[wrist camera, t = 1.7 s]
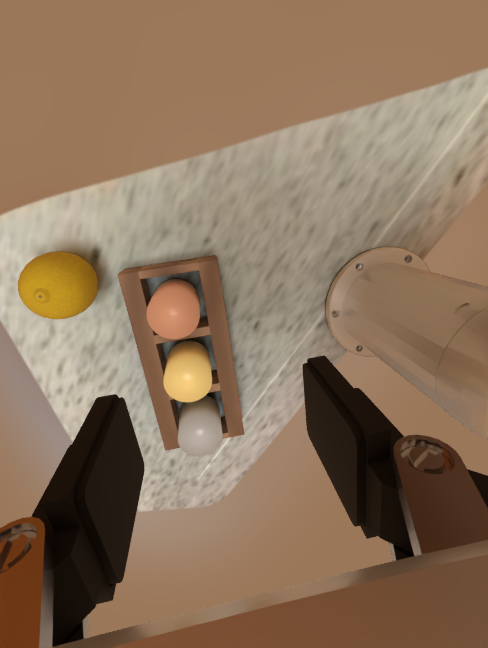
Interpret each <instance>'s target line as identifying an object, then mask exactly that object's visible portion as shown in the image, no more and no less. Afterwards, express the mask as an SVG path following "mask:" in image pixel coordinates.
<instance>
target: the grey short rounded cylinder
mask: <svg viewBox="0 0 488 648" xmlns="http://www.w3.org/2000/svg"><path fill="white" fill-rule="evenodd" d="M222 439H223V434H222V426H221V418H220V410H219V405H218V403H217V402H216V401H215V400H214V399H213V398H211V397H209V396H206V395H205V396H204V397H203V398H201V399H199V400H197V401H194V402H184V403H183V404H182V406H181V408H180V416H179V429H178V444H179V446H180V448H181V449H182V450H183V451H184V452H185V453H187V454H189V455H192V456H205V455H208V454H211V453H213V452H214V451H215V450H217V449H218V448H219V446H220V445H221V443H222Z"/></svg>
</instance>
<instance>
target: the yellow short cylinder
mask: <svg viewBox="0 0 488 648" xmlns="http://www.w3.org/2000/svg"><path fill="white" fill-rule="evenodd" d="M163 383H164V388H165V390H166V392H167V393H168V394H169V396H171V397H172V398H173V399H175V400H177V401H180V402H194V401H197V400H199V399H201V398H203V397H204V396H205V395H206V394H207V393H208V392H209V390H210V388H211V386H212V373H211V363H210V355H209V353H208V351H207V349H206V348H205V347H204V346H203V345H201V344H200V343H197V342H194V341H184V342H181V343H178V344H177V345H175V346H174V347H173V348H172V349H171V350H170V352H169V354H168V358H167V363H166V369H165V374H164V380H163Z"/></svg>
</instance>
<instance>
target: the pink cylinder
mask: <svg viewBox="0 0 488 648" xmlns="http://www.w3.org/2000/svg"><path fill="white" fill-rule="evenodd" d="M199 319H200V306H199V296H198V293H197V291H196V289H195V288H194V287H193V286H192V285H191V284H190V283H188V282H187V281H184V280H181V279H170V280H167V281H165V282H163V283H161V284H160V285H159V286H158V287H157V289H156V290H155V292H154V294H153V296H152V298H151V300H150V302H149V305H148V307H147V320H148V323H149V325H150V327H151V328H152V330H153V331H154V332H155V333H157V334H158V335H160V336H162V337H164V338H167V339H180V338H184V337H186V336H188V335H189V334H191V333H192V332H193V331H194V330H195V329H196V327H197V325H198V323H199Z"/></svg>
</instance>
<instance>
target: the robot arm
mask: <svg viewBox="0 0 488 648" xmlns="http://www.w3.org/2000/svg"><path fill="white" fill-rule="evenodd" d="M356 265H357V267H356ZM333 311H334V313H332V312H333ZM326 319H327V325H328V327H329V329H330V332H331V334H332V335H333V337H334V338H335V339H336V341H337V342H339V343H340V344H341V345H342V346H343V347H344V348H346V349H347V350H348V351H350V352H353V353H355V354H357V355H362V356H377V357H379V358H380V359H381V360H382V361H384V362H385V363H386V364H387V365H389V366H390V367H391V368H392V369H394V370H395V371H396V372H397V373H399V374H400V375H401V376H402V377H404V378H405V379H406V380H407V381H408V382H410V383H411V384H412V385H414V386H415V387H416V388H417V389H418V390H420V391H421V392H422V393H423V394H425V395H426V396H427V397H429V398H430V399H431V400H432V401H434V402H435V403H436V404H437V405H438V406H440V407H441V408H442V409H443V410H445V411H446V412H447V413H448V414H450V415H451V416H452V417H453V418H455V419H456V420H457V421H459V422H460V423H461V424H462V425H464V426H465V427H467V428H468V429H470V430H471V431H472V432H474V433H476V434H478V435H480V436H482V437H484V438H487V439H488V287H486V286H482V285H478V284H474V283H470V282H467V281H463V280H459V279H455V278H451V277H447V276H444V275H440V274H435V273H432V272H430V270H429V268H428V266H427V265H426V264H425V262H424V261H423V260H422V259H421V258H420V257H418V256H417V255H416V254H414V253H412V252H410V251H408V250H405V249H401V248H396V247H381V248H375V249H372V250H369V251H366V252H364V253H362V254H360V255H359V256H357V257H355V258H354V259H352V260H351V261H350V262H349V263H348V264H347V265H345V266H344V268H343V269H342V270H341V271H340V272H339V273H338V275H337V276H336V278H335V280H334V281H333V283H332V285H331V288H330V290H329V293H328V296H327V301H326ZM303 380H304V395H305V409H306V423H307V431H308V435H309V437H310V440H311V442H312V443H313V446H314V448H315V450H316V451H317V454H318V456H319V458H320V460H321V462H322V464H323V465H324V467H325V470H326V471H327V474H328V476H329V478H330V479H331V482H332V483H333V486H334V488H335V490H336V492H337V494H338V496H339V498H340V499H341V502H342V504H343V506H344V508H345V509H346V512H347V514H348V515H349V518H350V520H351V521H352V523H353V525H354V526H361V528H362V530H363V532H364V534H365V536H366V538H371V537H376V536H379V537H380V538H381V539H383V540H385V541H388V542H389V546H390V551H391V556H392V561H393V562H389V563H384V564H380V565H376V566H372V567H368V568H364V569H360V570H356V571H352V572H348V573H344V574H340V575H335V576H331V577H327V578H324V579H319V580H315V581H311V582H307V583H303V584H299V585H295V586H291V587H287V588H283V589H279V590H275V591H271V592H267V593H263V594H259V595H255V596H251V597H247V598H243V599H239V600H235V601H231V602H227V603H223V604H219V605H215V606H212V607H207V608H203V609H199V610H195V611H191V612H188V613H183V614H180V615H175V616H171V617H167V618H163V619H159V620H155V621H152V622H148V623H144V624H140V625H136V626H132V627H128V628H125V629H121V630H117V631H113V632H109V633H105V634H101V635H97V636H93V637H90V626H89V616H88V614H89V613H90V612H91V611H92V610H93V609H94V608H95V607H96V604H99V603H103V602H107V601H111V600H113V596H114V592H115V586H116V583H120V582H121V581H122V580H123V577H124V572H125V567H126V562H127V557H128V552H129V547H130V542H131V537H132V531H133V527H134V521H135V516H136V511H137V506H138V501H139V496H140V491H141V486H142V481H143V476H144V461H143V458H142V454H141V451H140V448H139V445H138V441H137V438H136V435H135V432H134V429H133V425H132V422H131V419H130V416H129V412H128V409H127V406H126V403H125V400H124V398H123V397H122V398H118V396H117V395H116V394H114V395H108V396H103V397H98V398H97V399H96V400H95V402H94V404H93V406H92V408H91V410H90V411H89V413H88V415H87V417H86V419H85V421H84V423H83V425H82V427H81V429H80V430H79V432H78V434H77V436H76V438H75V440H74V442H73V444H72V445H70V447H69V448H68V449H67V451H66V453H65V455H64V457H63V459H62V461H61V463H60V464H59V466H58V468H57V470H56V472H55V474H54V475H53V477H52V479H51V481H50V483H49V485H48V487H47V488H46V490H45V492H44V494H43V496H42V498H41V500H40V501H39V503H38V505H37V507H36V509H35V511H34V513H33V514H32V516H31V517H26V518H21V519H18V520H15V521H13V522H10V523H8V524H7V525H5V526H3V527H1V528H0V648H488V476H487V475H483V474H480V473H477V472H473V471H471V470H468V469H467V468H466V466H465V464H464V463H463V461H462V459H461V457H460V456H459V454H458V453H457V452H456V451H455V450H454V449H453V448H452V447H450V446H449V445H448V444H446V443H444V442H442V441H440V440H439V439H435V438H432V437H429V436H424V435H408V436H405V437H404V436H403V435H402V434H401V433H400V432H399V431H398V429H397V428H396V427H395V426H394V425H393V424H392V423H391V422H390V421H389V420H388V419H387V418H386V417H385V415H384V414H383V413H382V412H381V411H380V410H379V409H378V408H377V407H376V406H375V405H374V403H373V402H371V400H370V399H369V398H368V397H367V396H366V395H365V394H364V393H363V392H362V391H361V390H360V389H359V388H353V387H352V386H351V385H350V384H349V382H347V380H346V379H345V378H344V377H343V376H342V375H341V373H340V372H339V371H338V370H337V369H336V368H335V367H334V366H333V364H332V363H331V362H330V361H329V360H328V359H327V358H326V357H325V356H320V357H314V358H309V359H308V360H307V363H305V364H303Z"/></svg>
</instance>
